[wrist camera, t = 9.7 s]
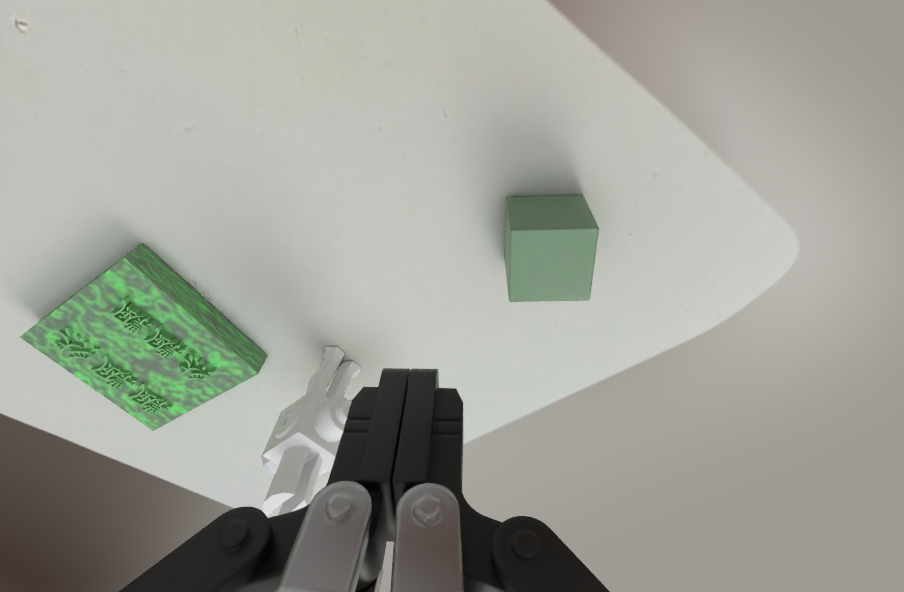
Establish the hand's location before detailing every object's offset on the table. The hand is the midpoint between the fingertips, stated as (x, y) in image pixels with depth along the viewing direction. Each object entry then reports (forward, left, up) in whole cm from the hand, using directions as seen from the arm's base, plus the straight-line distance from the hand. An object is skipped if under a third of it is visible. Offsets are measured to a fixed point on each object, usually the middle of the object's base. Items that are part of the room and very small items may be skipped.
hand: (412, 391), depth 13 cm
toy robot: (+15, -9, -18) cm, 25 cm away
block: (+4, +6, -17) cm, 19 cm away
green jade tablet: (+12, -22, -18) cm, 31 cm away
